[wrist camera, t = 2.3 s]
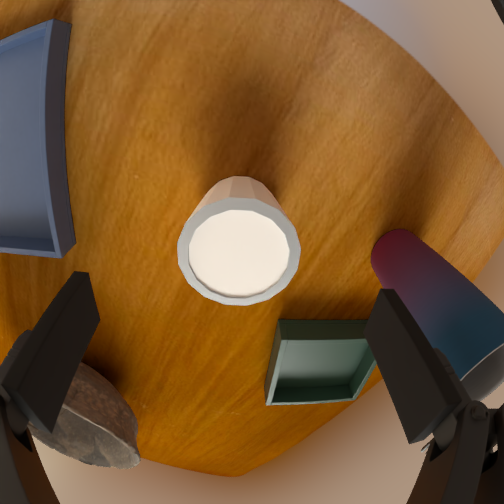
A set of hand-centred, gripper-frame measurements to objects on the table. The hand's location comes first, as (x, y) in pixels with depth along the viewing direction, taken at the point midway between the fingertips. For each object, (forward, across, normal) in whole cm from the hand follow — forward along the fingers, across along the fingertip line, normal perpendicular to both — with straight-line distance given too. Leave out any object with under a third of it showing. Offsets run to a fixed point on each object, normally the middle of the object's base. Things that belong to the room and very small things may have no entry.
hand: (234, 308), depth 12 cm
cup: (+11, +14, -2) cm, 18 cm away
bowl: (+12, -20, -24) cm, 33 cm away
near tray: (+11, -24, +6) cm, 27 cm away
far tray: (+11, +10, -16) cm, 22 cm away
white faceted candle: (+11, 0, 0) cm, 11 cm away
